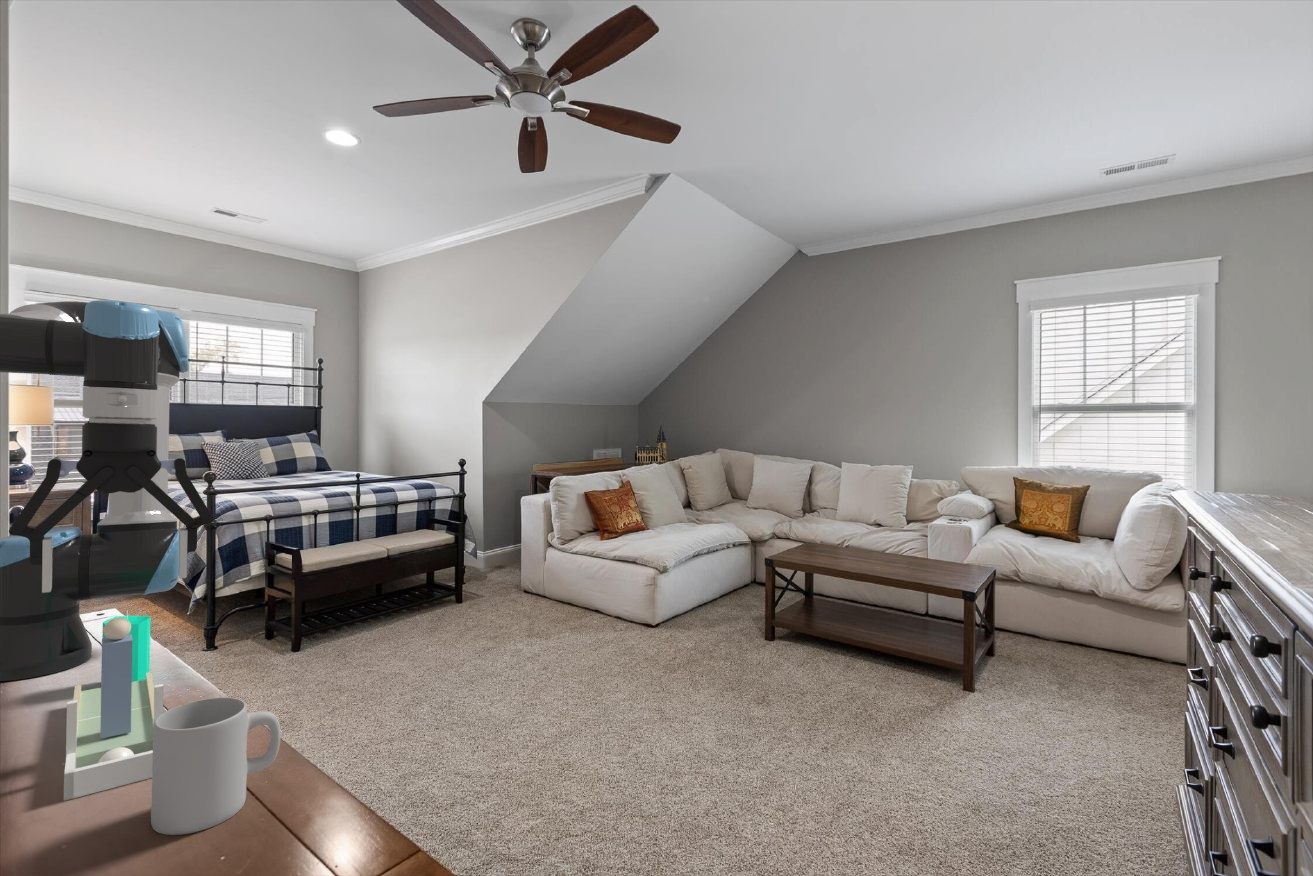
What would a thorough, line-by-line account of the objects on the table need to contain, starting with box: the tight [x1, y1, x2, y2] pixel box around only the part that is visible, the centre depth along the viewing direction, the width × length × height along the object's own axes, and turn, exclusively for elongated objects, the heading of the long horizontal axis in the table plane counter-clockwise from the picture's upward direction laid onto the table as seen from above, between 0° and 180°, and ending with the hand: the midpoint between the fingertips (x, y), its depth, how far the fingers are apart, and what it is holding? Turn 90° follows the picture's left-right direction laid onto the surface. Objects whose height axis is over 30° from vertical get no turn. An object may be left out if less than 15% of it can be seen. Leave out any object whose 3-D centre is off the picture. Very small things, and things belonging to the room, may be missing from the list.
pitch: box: [72, 671, 155, 769], centre depth 89 cm, size 25×9×3 cm, turn 41°
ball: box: [98, 747, 134, 763], centre depth 77 cm, size 4×4×4 cm
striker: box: [100, 618, 132, 739], centre depth 83 cm, size 3×3×15 cm
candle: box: [101, 609, 152, 682], centre depth 104 cm, size 6×6×12 cm
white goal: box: [63, 683, 164, 802], centre depth 77 cm, size 6×9×9 cm
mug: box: [150, 697, 281, 836], centre depth 72 cm, size 12×8×11 cm
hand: (118, 583), depth 84 cm, fingers open, 13 cm apart
